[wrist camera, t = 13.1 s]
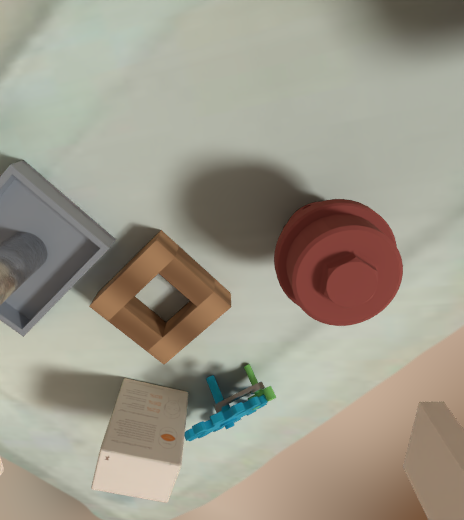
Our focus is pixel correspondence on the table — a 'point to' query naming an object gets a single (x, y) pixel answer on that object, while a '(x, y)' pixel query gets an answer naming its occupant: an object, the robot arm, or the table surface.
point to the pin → (19, 261)
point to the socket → (144, 319)
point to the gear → (234, 413)
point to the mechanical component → (338, 261)
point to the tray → (45, 242)
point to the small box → (143, 442)
